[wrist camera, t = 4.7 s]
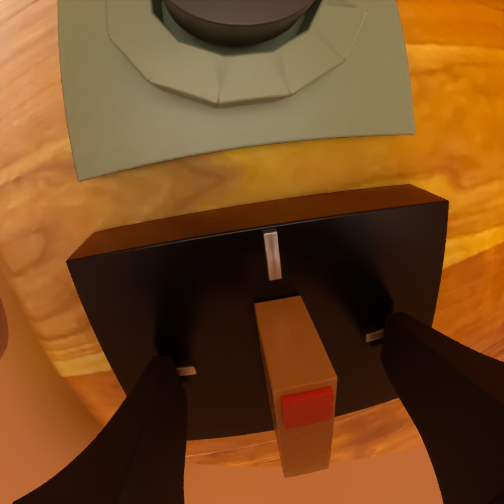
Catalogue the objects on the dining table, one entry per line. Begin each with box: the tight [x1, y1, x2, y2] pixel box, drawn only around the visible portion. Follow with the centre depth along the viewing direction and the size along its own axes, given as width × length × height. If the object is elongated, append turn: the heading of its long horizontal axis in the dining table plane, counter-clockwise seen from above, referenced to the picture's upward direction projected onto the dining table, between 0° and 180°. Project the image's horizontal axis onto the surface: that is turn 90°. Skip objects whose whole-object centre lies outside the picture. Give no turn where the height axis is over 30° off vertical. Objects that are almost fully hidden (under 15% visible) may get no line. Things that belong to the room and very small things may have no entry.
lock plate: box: [66, 184, 449, 440], centre depth 11 cm, size 12×9×3 cm
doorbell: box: [58, 0, 415, 182], centre depth 7 cm, size 11×9×3 cm
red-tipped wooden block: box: [254, 296, 337, 478], centre depth 8 cm, size 4×1×4 cm, turn 8°
